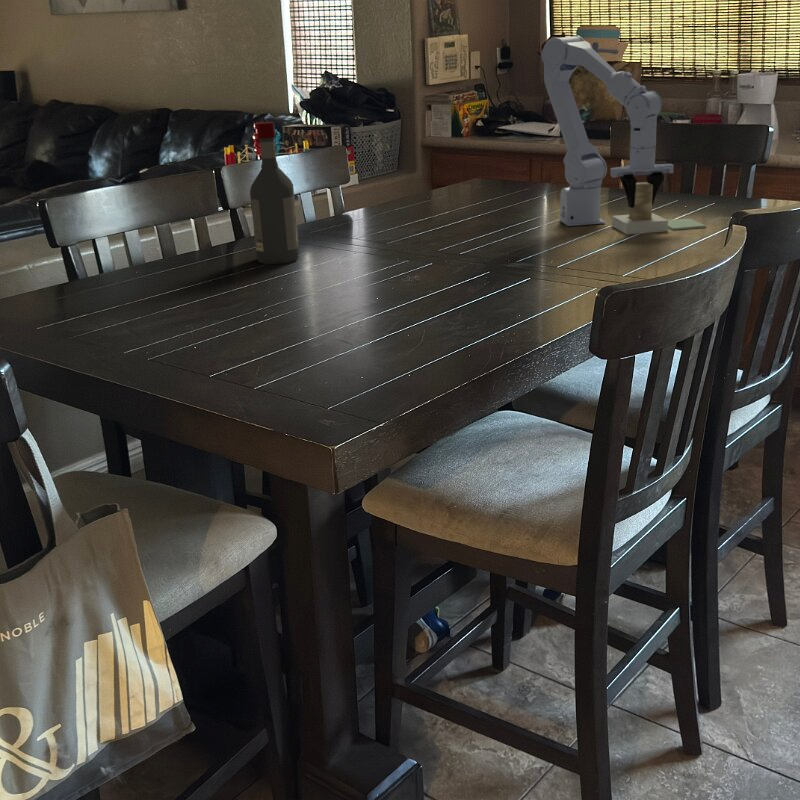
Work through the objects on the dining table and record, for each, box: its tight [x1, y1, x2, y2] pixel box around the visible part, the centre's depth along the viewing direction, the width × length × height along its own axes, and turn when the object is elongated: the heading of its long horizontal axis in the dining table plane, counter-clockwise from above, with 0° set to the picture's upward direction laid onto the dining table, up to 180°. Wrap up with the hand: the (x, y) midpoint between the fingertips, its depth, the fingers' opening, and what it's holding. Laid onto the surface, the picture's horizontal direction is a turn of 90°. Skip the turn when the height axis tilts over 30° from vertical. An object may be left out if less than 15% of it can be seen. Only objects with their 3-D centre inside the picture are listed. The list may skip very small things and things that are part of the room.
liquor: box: [249, 121, 300, 265], centre depth 219 cm, size 9×9×30 cm
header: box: [611, 212, 669, 235], centre depth 235 cm, size 10×10×2 cm
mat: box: [667, 218, 707, 231], centre depth 236 cm, size 8×9×1 cm
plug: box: [628, 181, 653, 221], centre depth 233 cm, size 4×4×9 cm
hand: (640, 206), depth 233 cm, fingers closed on plug, 4 cm apart
